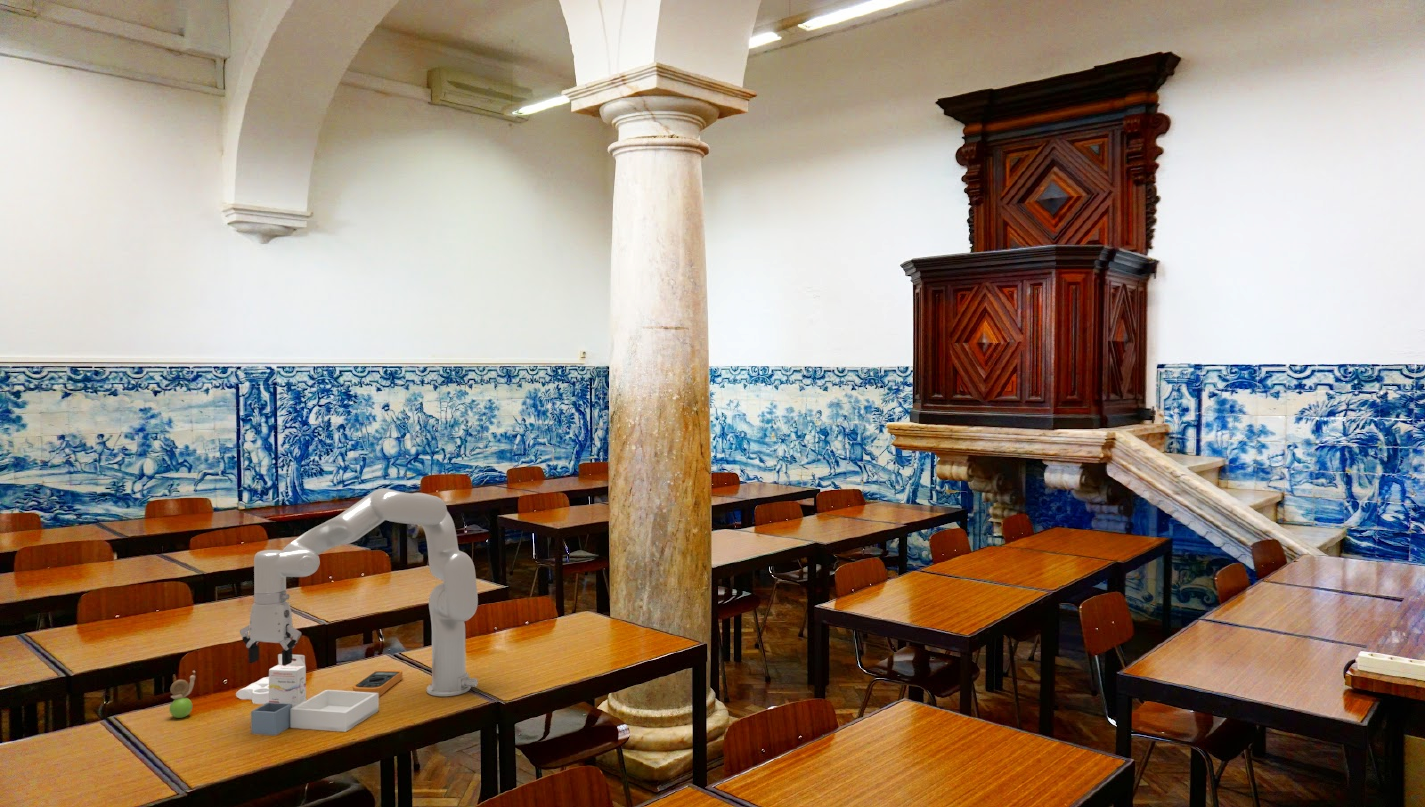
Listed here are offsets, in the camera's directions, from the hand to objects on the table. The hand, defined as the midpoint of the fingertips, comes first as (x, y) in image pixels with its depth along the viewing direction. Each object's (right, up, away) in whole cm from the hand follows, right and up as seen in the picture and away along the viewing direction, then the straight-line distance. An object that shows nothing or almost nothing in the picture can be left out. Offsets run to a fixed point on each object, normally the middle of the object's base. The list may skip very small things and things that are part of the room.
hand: (270, 663), depth 247 cm
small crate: (0, -18, 0) cm, 18 cm away
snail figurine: (-28, -18, +10) cm, 35 cm away
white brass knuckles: (-14, -18, +30) cm, 37 cm away
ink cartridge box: (-3, -18, +16) cm, 24 cm away
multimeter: (+16, -17, +34) cm, 42 cm away
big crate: (+14, -17, +8) cm, 24 cm away
